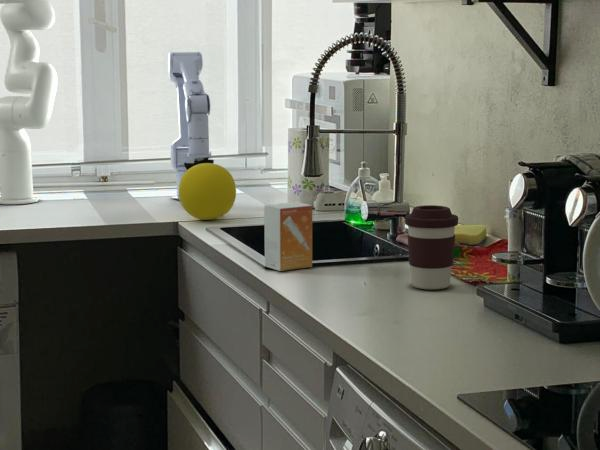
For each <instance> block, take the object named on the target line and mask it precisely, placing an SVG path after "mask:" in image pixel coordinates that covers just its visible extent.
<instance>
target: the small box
mask: <svg viewBox="0 0 600 450" xmlns="http://www.w3.org/2000/svg"><path fill="white" fill-rule="evenodd" d="M263 207H264V208H263V209H264V210H263V215H264V216H263V217H264V220H263V221H264V225H263V226H264V227H263V228H264V267H265V268H268V269H272V270H275V271H279V272H282V271H289V270H297V269H306V268H312V267H313V205H312V204H308V203H304V202H300V201H293V202H281V203H274V204H264V206H263Z"/></svg>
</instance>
